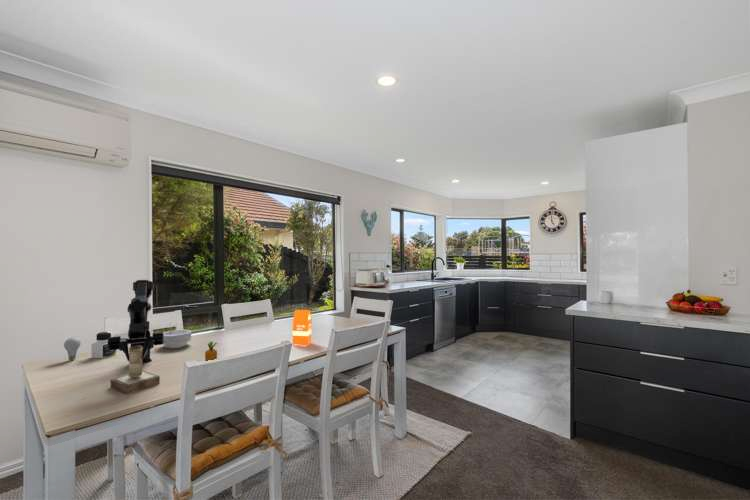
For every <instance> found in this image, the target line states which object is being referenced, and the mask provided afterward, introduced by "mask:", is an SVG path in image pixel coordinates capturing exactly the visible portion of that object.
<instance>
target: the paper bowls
mask: <svg viewBox="0 0 750 500" xmlns="http://www.w3.org/2000/svg"><path fill="white" fill-rule="evenodd" d="M163 333H164V340H163V344H162V345H163V346H164V347H165V348H166V349H179V348H183V347H185V346H187V344H188V342H191V340H192V330H190V329H175V330H169V331H165V332H163Z"/></svg>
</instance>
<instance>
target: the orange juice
mask: <svg viewBox="0 0 750 500" xmlns="http://www.w3.org/2000/svg"><path fill="white" fill-rule="evenodd" d="M310 342H311V343H312V316H311V311H310V310H309V309H308V310H307V309H294V315H293V319H292V346H293V345H294V344H300V345H308V344H309V343H310Z"/></svg>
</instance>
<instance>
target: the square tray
mask: <svg viewBox="0 0 750 500" xmlns="http://www.w3.org/2000/svg"><path fill="white" fill-rule="evenodd" d="M160 376H161V375H157V374H155V373H151V372H148V371H145V370H142V375H141V376H138V377H129V374H128V375H123V376H120V377H119V376H118V377H116V378H112V379H110V389H113V390H116V391H118V392H121V393H122V394H126V395H128V394H131V392H132V393H134V392H133V391H135V392H138V391H141V390H144V389H147V388H150V387H153V386H156V384H157V385H160V381H161V380H160V378H161V377H160ZM149 386H150V387H149ZM146 387H147V388H146ZM143 388H144V389H143ZM140 389H141V390H140ZM137 390H138V391H137Z"/></svg>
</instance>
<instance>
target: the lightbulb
mask: <svg viewBox="0 0 750 500" xmlns="http://www.w3.org/2000/svg"><path fill="white" fill-rule="evenodd" d="M81 345H82V342H81V339H79V338H78V337H69V338H67V339H66V340H65V342H64V343H63V347H64V349H65V350H66V352H67V356H68V361H74V360H76V358H77V352H78V350H79V348H80V347H81Z"/></svg>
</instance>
